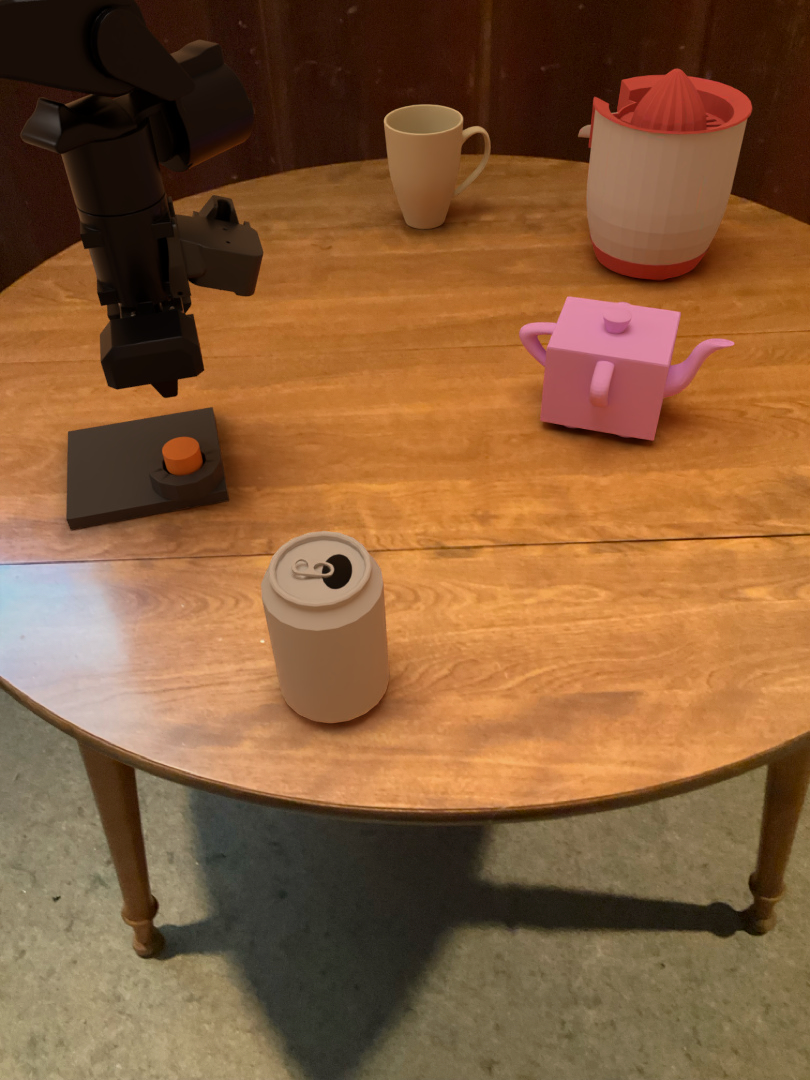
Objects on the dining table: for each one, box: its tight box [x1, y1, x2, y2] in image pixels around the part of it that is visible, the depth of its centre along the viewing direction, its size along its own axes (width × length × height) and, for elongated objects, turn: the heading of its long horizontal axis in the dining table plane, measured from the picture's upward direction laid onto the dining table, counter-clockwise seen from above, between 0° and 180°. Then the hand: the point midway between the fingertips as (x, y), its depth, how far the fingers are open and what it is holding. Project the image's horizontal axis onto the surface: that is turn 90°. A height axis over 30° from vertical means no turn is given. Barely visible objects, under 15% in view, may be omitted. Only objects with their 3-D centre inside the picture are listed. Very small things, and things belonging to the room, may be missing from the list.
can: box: [260, 530, 391, 724], centre depth 59 cm, size 8×8×12 cm
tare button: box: [162, 437, 203, 476], centre depth 76 cm, size 3×3×2 cm
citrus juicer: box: [577, 68, 753, 281], centre depth 98 cm, size 16×17×20 cm
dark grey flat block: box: [65, 406, 230, 530], centre depth 79 cm, size 13×12×3 cm
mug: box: [383, 104, 492, 230], centre depth 109 cm, size 11×10×12 cm
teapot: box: [518, 296, 735, 442], centre depth 81 cm, size 18×14×10 cm
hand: (170, 394), depth 71 cm, fingers closed
